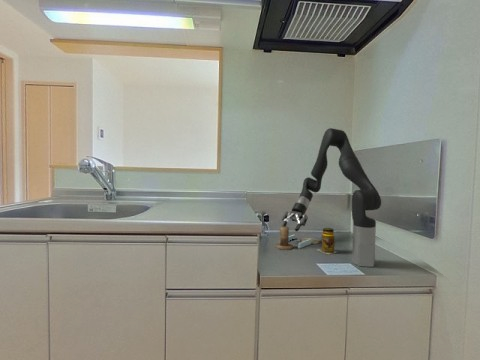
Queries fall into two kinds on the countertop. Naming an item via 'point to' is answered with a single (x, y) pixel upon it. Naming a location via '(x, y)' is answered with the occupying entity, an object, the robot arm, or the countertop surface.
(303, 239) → the coaster
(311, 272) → the countertop surface
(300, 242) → the pale blue rack
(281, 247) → the wooden peg stand
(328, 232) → the condiment
